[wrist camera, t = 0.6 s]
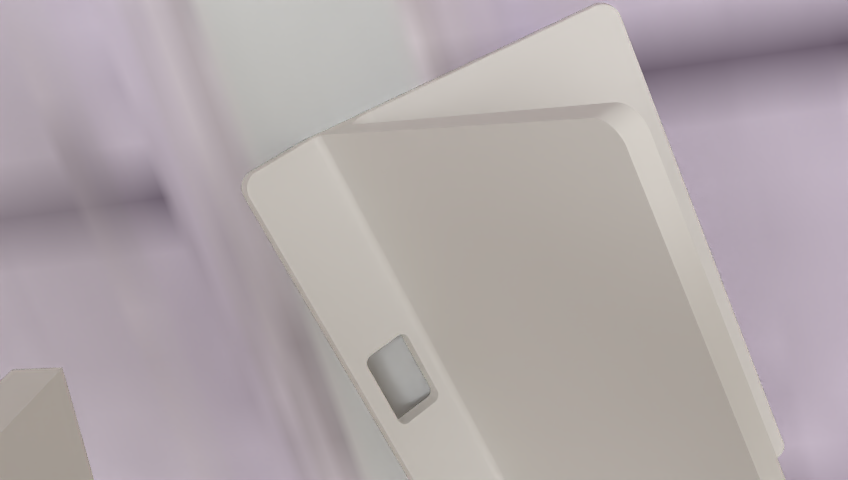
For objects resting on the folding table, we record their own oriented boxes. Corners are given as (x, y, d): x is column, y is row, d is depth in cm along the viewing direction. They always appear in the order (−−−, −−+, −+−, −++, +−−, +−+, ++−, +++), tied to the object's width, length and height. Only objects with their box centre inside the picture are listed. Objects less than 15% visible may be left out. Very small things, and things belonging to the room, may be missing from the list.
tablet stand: (609, -7, 34) (721, 67, 19) (784, 444, 42) (966, 761, 27) (246, 166, 38) (85, 346, 23) (468, 549, 46) (463, 879, 31)
